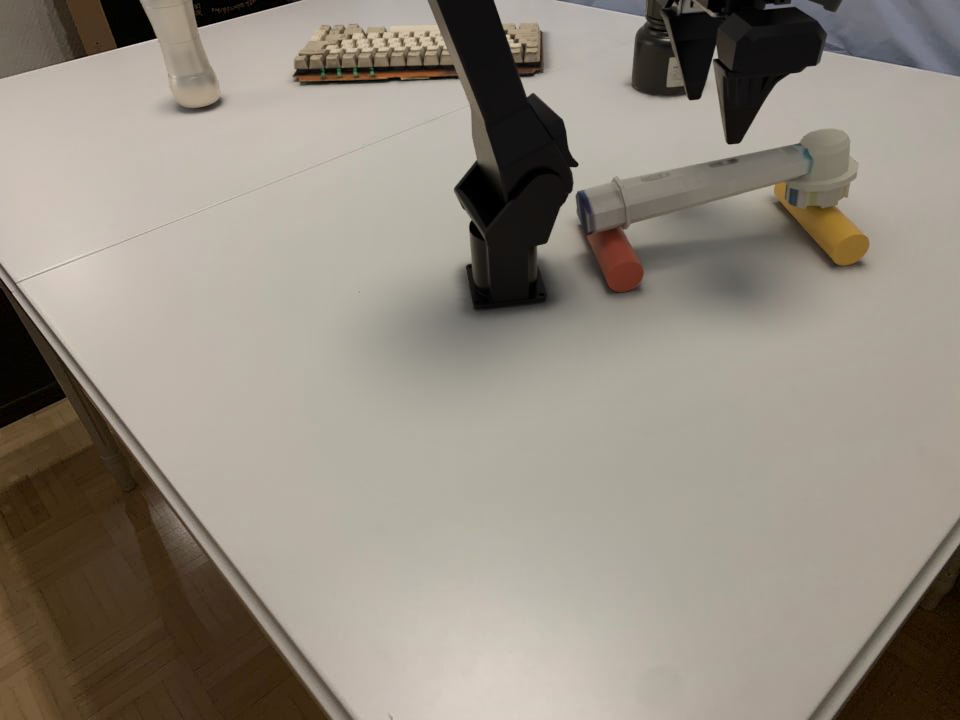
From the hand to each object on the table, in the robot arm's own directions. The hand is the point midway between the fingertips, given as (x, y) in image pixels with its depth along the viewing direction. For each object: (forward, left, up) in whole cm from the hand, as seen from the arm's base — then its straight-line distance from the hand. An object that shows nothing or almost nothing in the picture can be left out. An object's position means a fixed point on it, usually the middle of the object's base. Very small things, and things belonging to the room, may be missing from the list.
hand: (712, 120), depth 59 cm
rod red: (-1, +8, -12) cm, 14 cm away
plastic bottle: (+48, +54, -12) cm, 74 cm away
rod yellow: (-1, -12, -12) cm, 16 cm away
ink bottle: (+38, -10, -12) cm, 41 cm away
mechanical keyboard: (+58, +22, -12) cm, 64 cm away
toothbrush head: (-1, -1, -9) cm, 9 cm away
